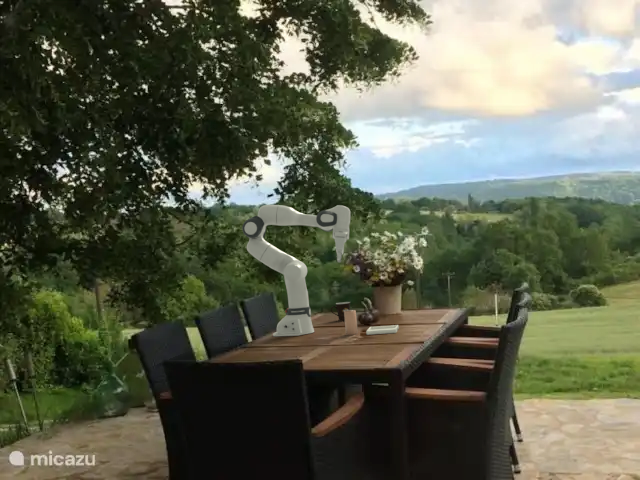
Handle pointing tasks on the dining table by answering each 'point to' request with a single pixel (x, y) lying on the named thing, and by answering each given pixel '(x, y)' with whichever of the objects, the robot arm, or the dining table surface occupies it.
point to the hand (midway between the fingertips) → (338, 261)
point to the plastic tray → (382, 329)
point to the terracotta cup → (350, 322)
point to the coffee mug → (341, 309)
